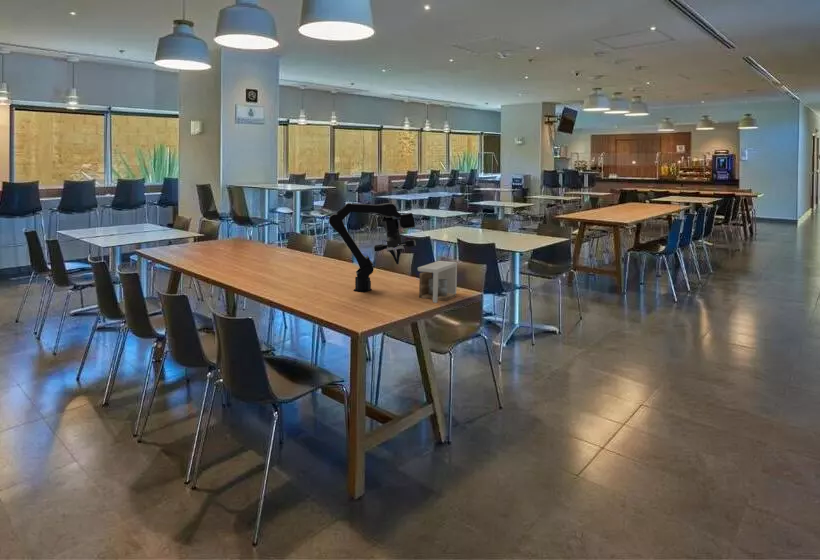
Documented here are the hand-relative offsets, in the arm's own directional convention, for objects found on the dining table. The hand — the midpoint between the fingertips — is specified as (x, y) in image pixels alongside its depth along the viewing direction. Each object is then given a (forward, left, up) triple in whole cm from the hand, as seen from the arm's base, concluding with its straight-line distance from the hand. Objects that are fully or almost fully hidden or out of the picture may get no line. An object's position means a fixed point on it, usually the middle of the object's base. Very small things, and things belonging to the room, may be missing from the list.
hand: (397, 264), depth 278 cm
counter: (+22, -2, -12) cm, 25 cm away
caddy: (+22, -2, -13) cm, 25 cm away
